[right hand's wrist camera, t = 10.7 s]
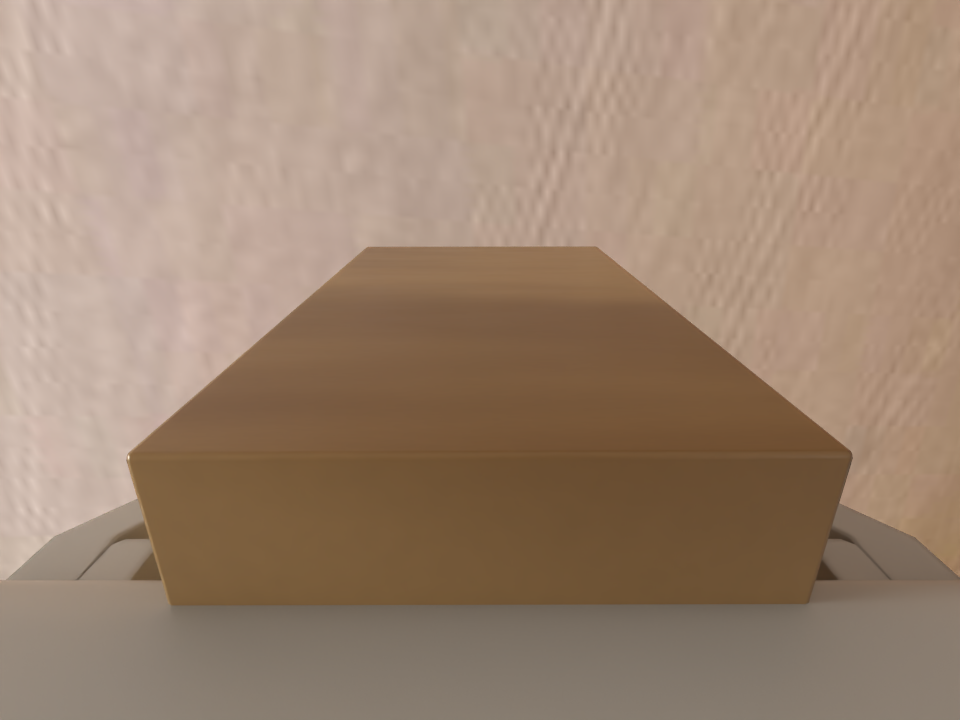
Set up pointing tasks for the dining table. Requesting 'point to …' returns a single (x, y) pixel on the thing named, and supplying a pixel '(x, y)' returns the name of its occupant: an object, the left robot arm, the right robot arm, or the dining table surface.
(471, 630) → the right robot arm
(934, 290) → the dining table surface
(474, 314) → the bar
